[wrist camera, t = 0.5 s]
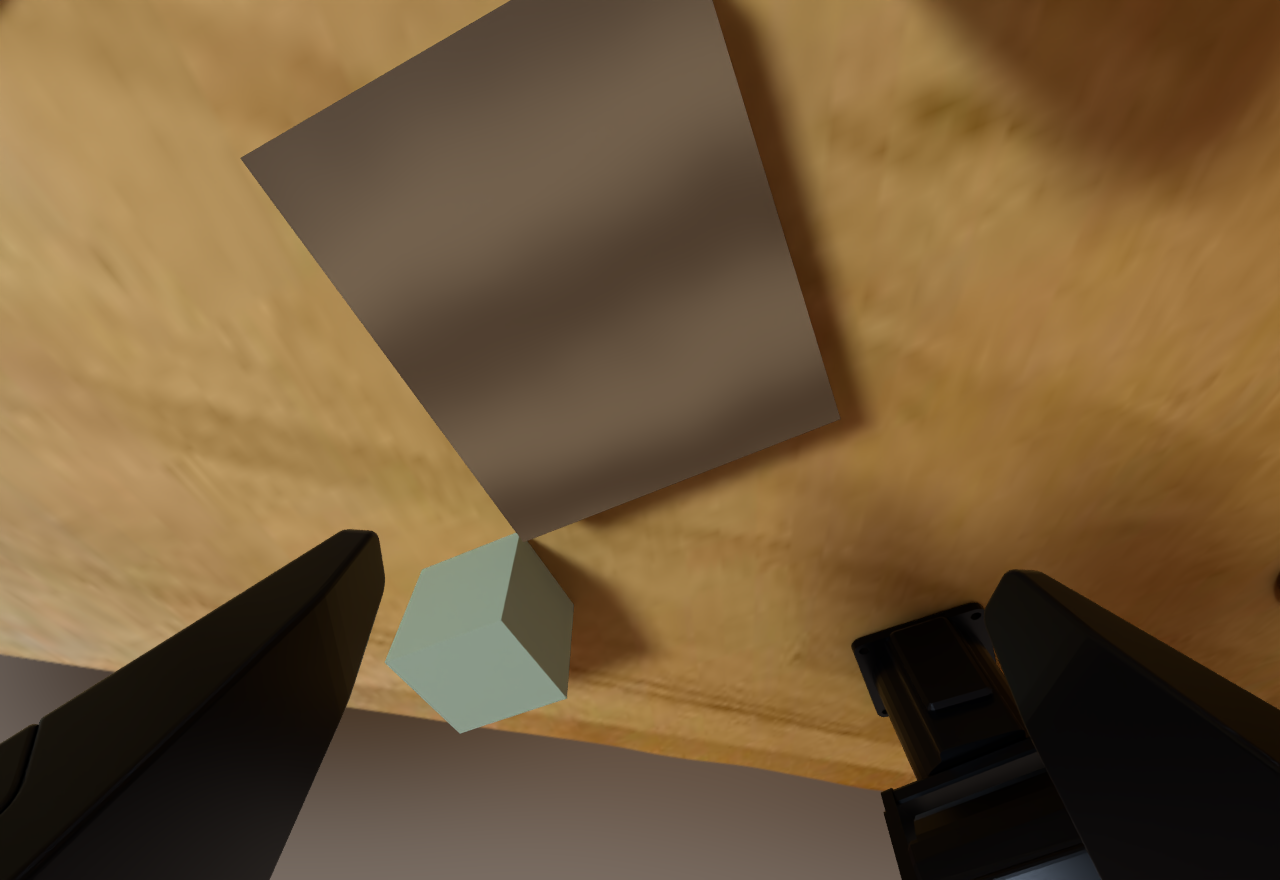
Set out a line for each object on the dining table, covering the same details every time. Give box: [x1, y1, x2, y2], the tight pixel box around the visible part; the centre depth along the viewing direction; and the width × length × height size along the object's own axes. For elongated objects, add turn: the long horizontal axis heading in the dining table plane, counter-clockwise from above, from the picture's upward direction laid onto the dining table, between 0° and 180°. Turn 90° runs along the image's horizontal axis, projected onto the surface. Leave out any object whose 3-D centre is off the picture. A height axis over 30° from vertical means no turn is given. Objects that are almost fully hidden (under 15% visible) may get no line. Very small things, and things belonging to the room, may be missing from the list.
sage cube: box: [385, 533, 574, 733], centre depth 24 cm, size 5×5×5 cm
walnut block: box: [241, 0, 840, 542], centre depth 18 cm, size 14×12×3 cm
